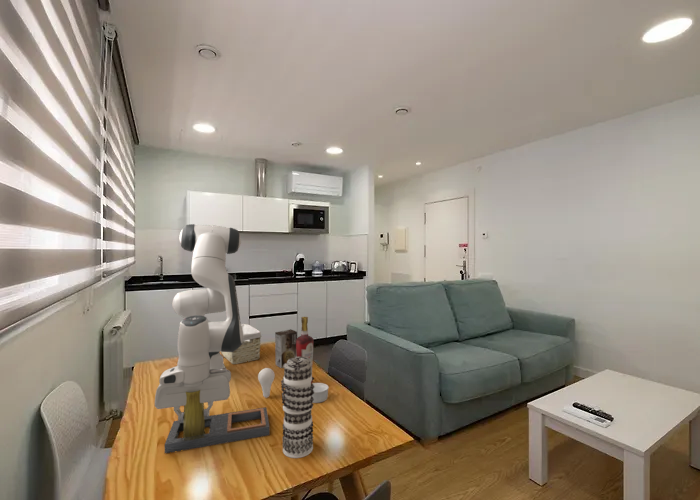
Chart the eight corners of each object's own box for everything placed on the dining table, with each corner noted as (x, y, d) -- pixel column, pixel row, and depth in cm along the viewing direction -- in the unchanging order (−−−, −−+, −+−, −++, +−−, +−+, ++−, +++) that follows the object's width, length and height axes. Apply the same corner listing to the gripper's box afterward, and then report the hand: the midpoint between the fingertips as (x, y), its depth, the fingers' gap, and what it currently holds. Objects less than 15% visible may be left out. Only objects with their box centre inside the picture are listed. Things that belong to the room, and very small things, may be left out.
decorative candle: (283, 439, 95) (283, 354, 95) (315, 438, 96) (314, 353, 96) (278, 459, 86) (278, 365, 86) (313, 458, 87) (313, 364, 87)
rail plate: (173, 429, 101) (173, 420, 101) (266, 414, 110) (266, 406, 110) (164, 453, 89) (164, 443, 89) (269, 435, 98) (269, 425, 98)
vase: (184, 445, 93) (184, 395, 93) (180, 435, 98) (180, 387, 98) (207, 437, 96) (207, 389, 97) (202, 428, 101) (202, 383, 102)
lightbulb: (270, 401, 120) (270, 371, 120) (255, 400, 121) (255, 370, 121) (277, 394, 126) (277, 366, 126) (262, 393, 127) (262, 365, 127)
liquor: (305, 379, 140) (305, 314, 140) (317, 384, 135) (317, 317, 136) (292, 385, 135) (292, 317, 135) (303, 389, 130) (303, 319, 130)
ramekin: (300, 398, 123) (300, 386, 123) (319, 391, 129) (319, 380, 129) (313, 406, 116) (313, 394, 116) (333, 399, 122) (333, 387, 122)
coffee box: (291, 360, 165) (291, 329, 165) (297, 364, 160) (297, 331, 160) (274, 364, 159) (274, 331, 159) (281, 368, 154) (281, 334, 154)
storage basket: (262, 359, 167) (262, 331, 167) (230, 366, 157) (230, 336, 157) (247, 348, 186) (247, 323, 186) (217, 354, 176) (217, 326, 177)
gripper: (231, 364, 104) (231, 407, 104) (158, 371, 97) (158, 418, 97) (230, 371, 98) (230, 417, 98) (153, 379, 91) (153, 429, 91)
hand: (194, 417), depth 97 cm, fingers closed on vase, 5 cm apart
